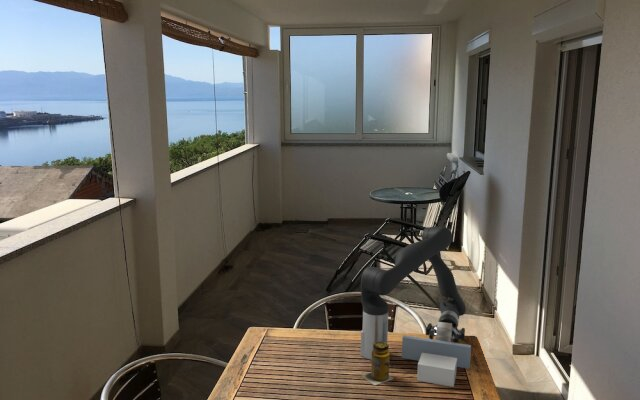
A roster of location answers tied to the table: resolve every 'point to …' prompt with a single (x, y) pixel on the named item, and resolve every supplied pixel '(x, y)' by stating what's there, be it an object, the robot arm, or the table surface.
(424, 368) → the plinth
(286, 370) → the table surface
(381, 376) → the condiment
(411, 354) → the screen
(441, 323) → the lettered block
